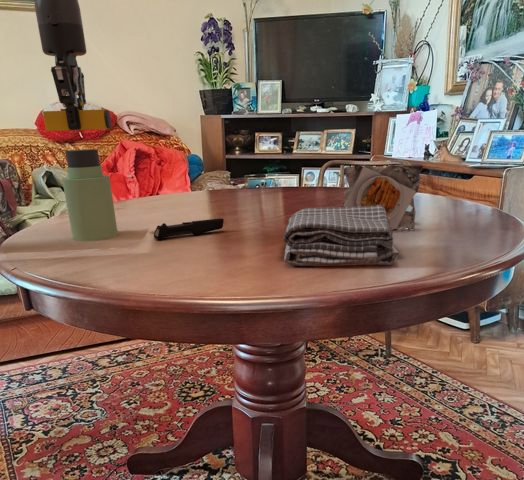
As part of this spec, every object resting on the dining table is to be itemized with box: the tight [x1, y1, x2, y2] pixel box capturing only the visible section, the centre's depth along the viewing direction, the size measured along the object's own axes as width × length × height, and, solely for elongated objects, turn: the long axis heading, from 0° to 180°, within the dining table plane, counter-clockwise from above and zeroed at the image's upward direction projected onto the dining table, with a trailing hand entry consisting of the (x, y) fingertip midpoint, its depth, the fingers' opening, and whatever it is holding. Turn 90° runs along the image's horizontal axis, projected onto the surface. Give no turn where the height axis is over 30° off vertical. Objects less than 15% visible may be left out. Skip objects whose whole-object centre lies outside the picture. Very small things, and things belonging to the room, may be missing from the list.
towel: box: [282, 205, 399, 267], centre depth 87 cm, size 15×18×8 cm
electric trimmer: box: [153, 217, 225, 241], centre depth 109 cm, size 4×16×3 cm, turn 117°
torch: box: [42, 108, 112, 132], centre depth 97 cm, size 12×3×4 cm, turn 95°
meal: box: [341, 164, 424, 230], centre depth 105 cm, size 15×4×13 cm, turn 90°
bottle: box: [61, 148, 119, 242], centre depth 102 cm, size 9×9×18 cm
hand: (77, 129), depth 97 cm, fingers closed on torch, 3 cm apart
